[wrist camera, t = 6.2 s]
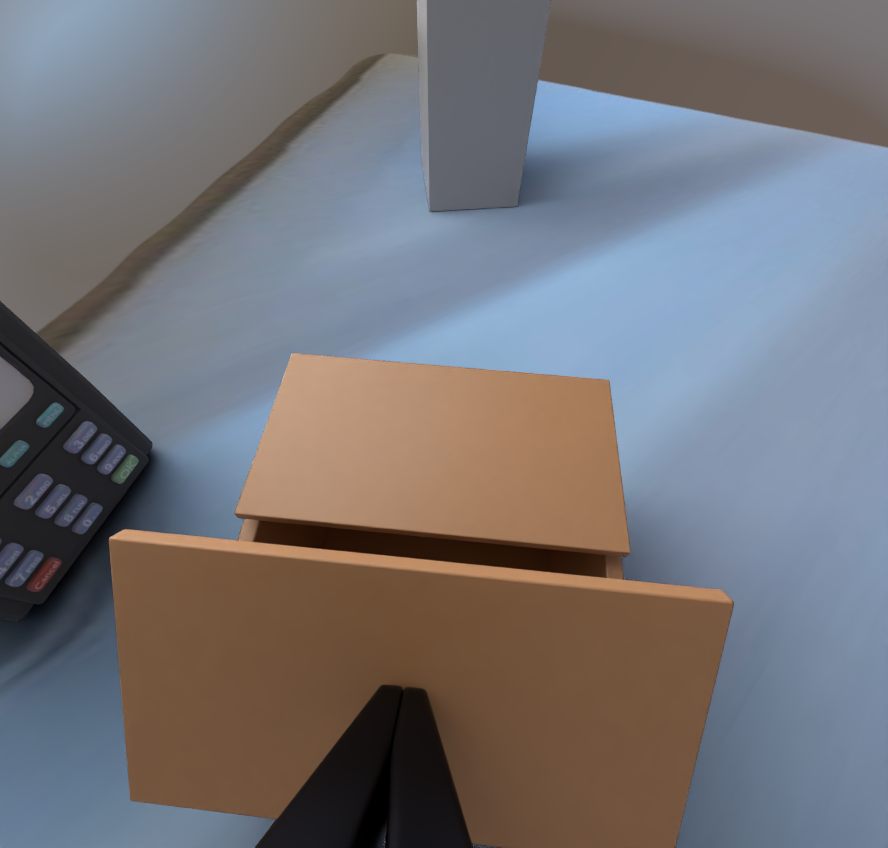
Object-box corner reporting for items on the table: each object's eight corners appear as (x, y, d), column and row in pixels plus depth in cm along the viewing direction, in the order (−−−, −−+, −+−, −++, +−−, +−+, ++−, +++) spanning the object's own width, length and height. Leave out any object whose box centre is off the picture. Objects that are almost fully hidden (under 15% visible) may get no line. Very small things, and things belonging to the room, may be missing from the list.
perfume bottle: (421, 163, 37) (410, -216, 21) (500, 159, 37) (545, -214, 22) (429, 211, 33) (423, -200, 18) (517, 206, 34) (584, -198, 18)
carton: (566, 787, 16) (673, 864, 9) (263, 750, 16) (128, 796, 9) (554, 479, 22) (611, 377, 15) (337, 459, 22) (290, 350, 15)
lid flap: (662, 847, 9) (671, 870, 9) (143, 782, 9) (129, 802, 9) (722, 588, 8) (736, 602, 7) (124, 527, 8) (107, 537, 8)
